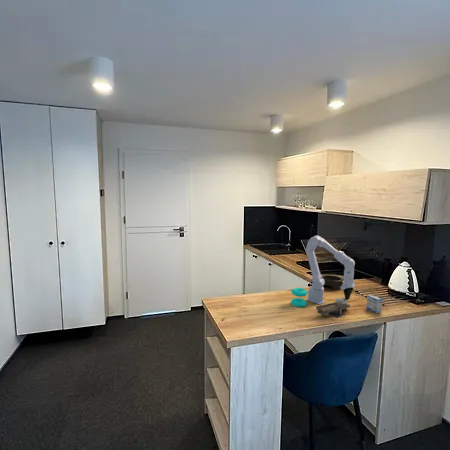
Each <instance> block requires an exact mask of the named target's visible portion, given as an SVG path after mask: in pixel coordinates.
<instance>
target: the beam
mask: <svg viewBox="0 0 450 450" xmlns="http://www.w3.org/2000/svg"><path fill="white" fill-rule="evenodd" d="M335 302H336V301H334V302H329V303H328V302H327V303H326V304H325V303H323V304H318V305H316V307H315V309H316V310H317V312H316V313H317V314H320V315H322V316H325V317H327V316H330V315H329V312H333V311H337V310H339V309H340V308H341V309H346V308H347V309H349V308H350V307H351V304H349V303H348V305H344V306H337V305H335ZM347 309H346V310H347Z"/></svg>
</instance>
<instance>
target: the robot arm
mask: <svg viewBox="0 0 450 450" xmlns="http://www.w3.org/2000/svg"><path fill="white" fill-rule="evenodd" d="M317 247H320V248H324V249H325V250H326V251H328V252H329V253H331V254H332V255H333V257H334V259H335V260H336V261H338V262H339V263H340V264H342V265H343V266H344V271H343V276H344V280H343V281H342V282H343V285H342V286H341V288H340V290H342V291H343V294H344V298H345V299H348V300H350V298H351V295H352V293H353V291H354V288H355V287H356V283H355V282H354V276H355V264H356V262H355V260H354V259H353V258H351V257H350V256H348V255H346V254H345V252H344V251H341V250H337V249H336V248H335V247H334V246H332V245H331V244H330V243H329V242H328V241H327V240H326V239H325V238H323V237H321V236H320V235H319V234H318V235H314V236H312V237H310V239H308V240H307V244H306V247H305V252H306V256H307V260H308V263H309V267H310V271H311V275H312V277H311V278H312V279H311V281H312V284H311V285H312V286H310V287H309V288H308V291H307V295H308V296H307V300H306V301H308V302H311V303H314V304H317V305H323V304H325V303H327V301H326V300H324V296H325V295H324V293H325V288H324V286H325V285H324V284H325V281H324V279H323V278H322V275H323V274H321V271H320V268H319V263H318V260H317V257H316V252H315V250H316V249H317Z"/></svg>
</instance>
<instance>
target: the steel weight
mask: <svg viewBox="0 0 450 450" xmlns="http://www.w3.org/2000/svg"><path fill="white" fill-rule="evenodd" d="M334 302H335V305H337V306H344V305H348V304H349V299H345V297H337V298H335V301H334Z"/></svg>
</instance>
